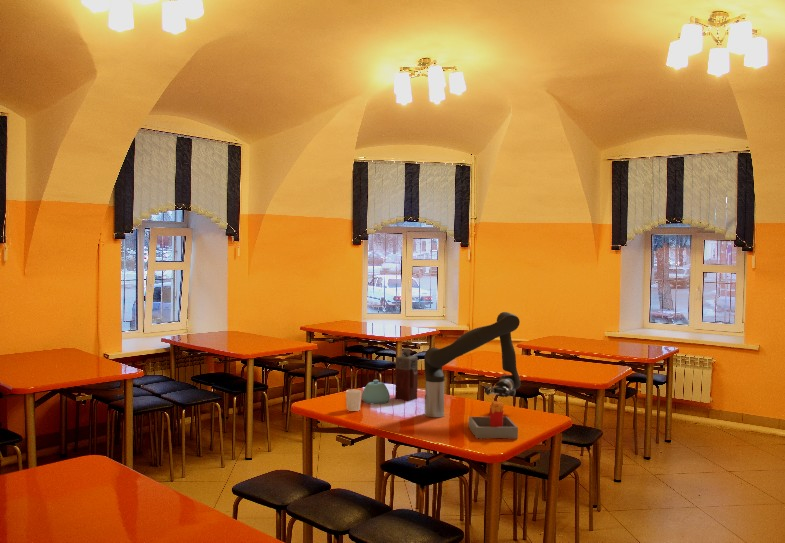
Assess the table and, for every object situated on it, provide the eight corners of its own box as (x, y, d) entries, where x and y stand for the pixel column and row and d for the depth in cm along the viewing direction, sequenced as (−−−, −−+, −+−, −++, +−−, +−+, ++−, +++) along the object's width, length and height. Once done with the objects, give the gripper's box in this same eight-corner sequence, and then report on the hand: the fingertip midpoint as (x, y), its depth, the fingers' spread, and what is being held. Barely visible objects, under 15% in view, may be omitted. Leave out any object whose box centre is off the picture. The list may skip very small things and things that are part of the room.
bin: (476, 439, 267) (476, 427, 267) (468, 427, 285) (469, 416, 285) (517, 438, 269) (517, 427, 269) (507, 427, 287) (507, 416, 286)
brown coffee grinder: (412, 401, 334) (413, 350, 333) (395, 399, 340) (395, 348, 339) (420, 398, 342) (421, 348, 341) (403, 396, 348) (404, 346, 347)
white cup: (355, 413, 309) (355, 393, 308) (342, 410, 313) (342, 391, 312) (364, 410, 315) (364, 390, 315) (351, 407, 319) (351, 388, 319)
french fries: (487, 428, 281) (488, 399, 280) (496, 427, 282) (497, 399, 281) (496, 434, 272) (497, 404, 271) (505, 433, 273) (505, 404, 273)
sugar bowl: (373, 396, 345) (373, 376, 345) (395, 400, 336) (395, 379, 336) (356, 401, 333) (356, 380, 333) (378, 406, 324) (378, 384, 324)
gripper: (489, 378, 306) (482, 384, 291) (518, 381, 301) (512, 387, 285) (488, 393, 306) (481, 400, 291) (517, 397, 301) (511, 403, 286)
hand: (496, 393), depth 288 cm, fingers open, 8 cm apart
